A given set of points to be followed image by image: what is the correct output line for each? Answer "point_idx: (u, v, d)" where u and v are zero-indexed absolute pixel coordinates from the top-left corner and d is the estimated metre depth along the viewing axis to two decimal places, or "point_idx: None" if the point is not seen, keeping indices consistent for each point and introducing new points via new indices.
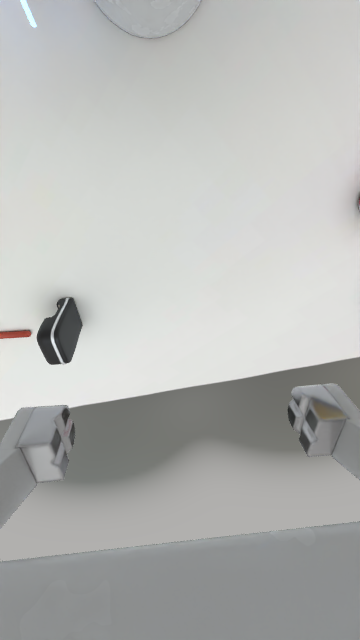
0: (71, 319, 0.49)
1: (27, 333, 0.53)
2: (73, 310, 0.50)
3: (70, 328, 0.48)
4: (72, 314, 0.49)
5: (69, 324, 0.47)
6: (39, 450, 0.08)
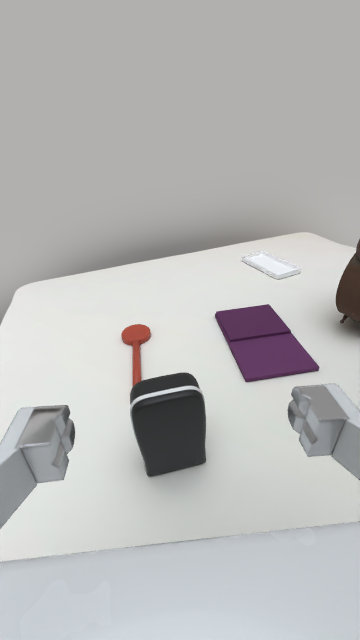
0: (185, 445, 0.28)
1: None
2: (191, 456, 0.29)
3: (176, 437, 0.27)
4: (189, 451, 0.29)
5: (185, 436, 0.27)
6: (39, 450, 0.08)
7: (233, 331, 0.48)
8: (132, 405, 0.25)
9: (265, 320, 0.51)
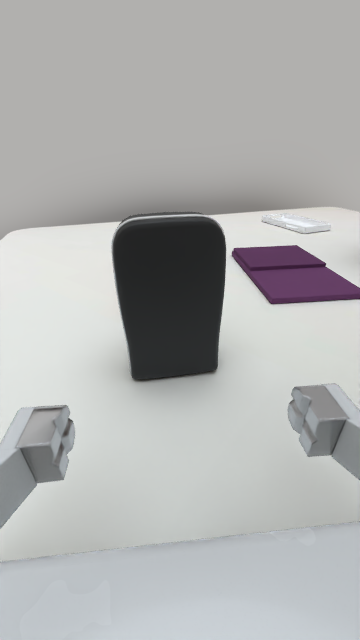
0: (191, 328, 0.19)
1: None
2: (197, 353, 0.20)
3: (179, 308, 0.18)
4: (195, 341, 0.20)
5: (191, 309, 0.18)
6: (39, 450, 0.08)
7: (254, 261, 0.40)
8: (115, 231, 0.16)
9: (293, 255, 0.42)
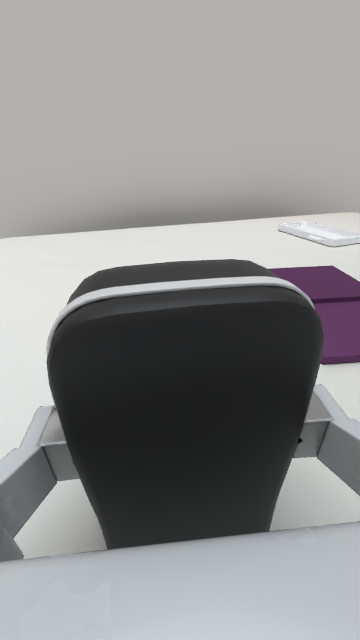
0: (228, 491, 0.09)
1: None
2: (236, 522, 0.10)
3: (206, 466, 0.08)
4: (234, 508, 0.10)
5: (232, 464, 0.09)
6: (60, 448, 0.08)
7: None
8: (54, 325, 0.06)
9: (334, 281, 0.32)
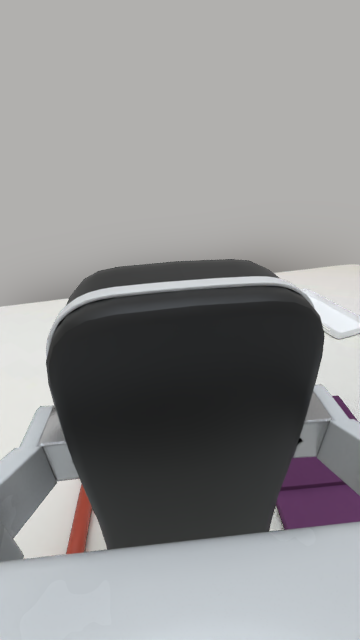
0: (228, 491, 0.09)
1: None
2: (236, 522, 0.10)
3: (206, 466, 0.08)
4: (234, 508, 0.10)
5: (232, 464, 0.09)
6: (60, 448, 0.08)
7: None
8: (54, 325, 0.06)
9: None
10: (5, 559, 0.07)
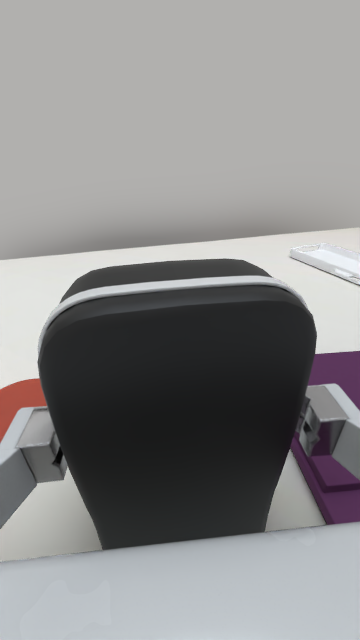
0: (223, 491, 0.09)
1: None
2: (231, 521, 0.10)
3: (200, 466, 0.08)
4: (229, 508, 0.10)
5: (227, 464, 0.09)
6: (39, 450, 0.08)
7: None
8: (45, 325, 0.06)
9: None
10: None
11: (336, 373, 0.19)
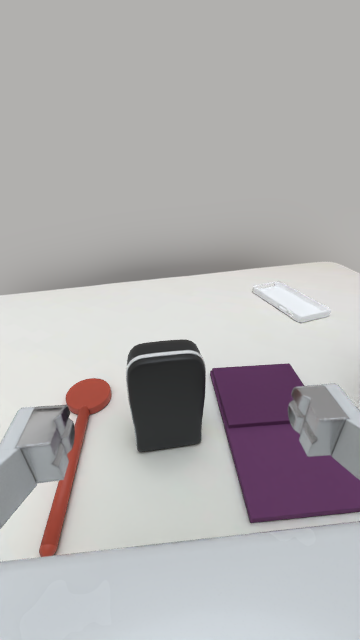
0: (181, 419, 0.26)
1: (50, 548, 0.20)
2: (186, 433, 0.27)
3: (172, 408, 0.25)
4: (184, 427, 0.27)
5: (181, 408, 0.26)
6: (39, 450, 0.08)
7: (235, 408, 0.31)
8: (129, 364, 0.23)
9: (284, 392, 0.33)
10: None
11: (251, 377, 0.36)
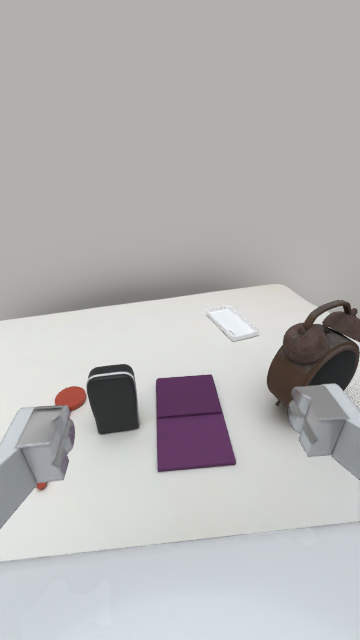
0: (123, 412, 0.43)
1: (42, 483, 0.37)
2: (127, 422, 0.44)
3: (116, 406, 0.42)
4: (126, 417, 0.43)
5: (122, 405, 0.42)
6: (39, 450, 0.08)
7: (164, 406, 0.48)
8: (87, 381, 0.40)
9: (201, 395, 0.50)
10: None
11: (181, 384, 0.52)
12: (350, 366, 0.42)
